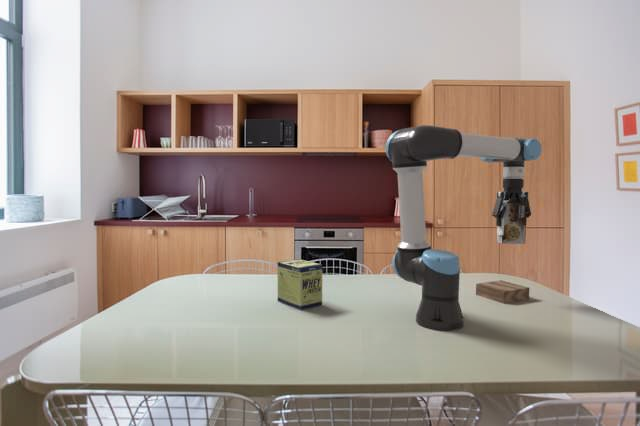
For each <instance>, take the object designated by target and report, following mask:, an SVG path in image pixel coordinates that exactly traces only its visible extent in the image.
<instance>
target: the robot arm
mask: <svg viewBox="0 0 640 426" xmlns="http://www.w3.org/2000/svg"><path fill="white" fill-rule="evenodd" d="M542 147H543V146H542V144H541V142H540V140H538V139H536V138H523V137H505V136H504V137H503V136H493V135H485V134H483V135H482V134H474V133H465V132H461V131H460V130H459V129H457V128H456V129H455V128H449V127H442V126H435V125H430V124H429V125H426V124H425V125H418V126H411V127H406V128H401V129H399V130H396V131H394V132H393V133H392V134H390V135H389V137H388V138H387V140H386V143H385V154H386V157H387V158H388V159H389V161H390V162H392V170H394V171H395V172H396V173H397V185H398V189H397V190H398V202H399V203H398V205H399V221H400V222H399V223H400V224H399V225H400V242H399V243H398V244H397V247H396V249H397V250H396V251H395V254H394V255H393V256H392V268H393V270H394V273H395V275H397V276H398V277H399V278H400V279H403V281H406V282H408V283H413V284H415V285H419V286H421V300H420V303H419V304H418V305H419V306H418V309H417V312H416V313H415V322H416V323H417V324H418V325H419V326H421V327H424V328H427V329H430V330H431V329H432V330H438V331H453V330H459V329H461V328H463V327H464V324H465V319H464V318H465V317H464V316H463V312H462V307H461V304H460V301H459V297H460V295H459V294H460V292H459V291H460V277H461V276H460V273H461V266H460V258H459V257H458V255H456V253H453V252H452V251H447V250H442V249H435V248H434V249H432V243H430V242H429V241H428V240H427V230H426V229H427V227H426V212H425V196H424V195H425V194H424V193H425V192H424V190H425V188H424V175H423V173H424V170H425V169H426V168H427V167H428V165H427V164H428V161H435V160H442V159H443V160H444V159H445V160H446V159H450V160H454V159H456V158H457V157H462V158H463V157H467V158H479V159H480V160H481V161H483V162H485V163H502V165H503V166H502V167H503V169H502V170H503V171H502V177H503V179H502V188H503V191H497V192H496V200H495V203H494V207H493V210H492V214H491V215H492V217H494V218H495V219H496V222H495V224H496V225H495V226H496V235H497V236H498V235H504V218H502V217H503V215H504V213H505V211H506V206H505V207H504V208H502V204H503V203H511V202H524V203H527V205H526V224H527V222H528V221H527V219H528V218H530V217H531V216H532V211H531V207H530V206H531V205H530V201H529V192H528V191H522V189H523V188H524V187H525V186H524V184H525V179H524V177H525V162H529V161H535V160H537V159H539V158H540V156H541V155H542V152H543V151H542Z"/></svg>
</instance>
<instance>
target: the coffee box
mask: <svg viewBox="0 0 640 426" xmlns="http://www.w3.org/2000/svg"><path fill="white" fill-rule="evenodd" d="M526 205H527V203H524V202H511V203H503V204H502V208H504V207H505V206H506V211H505V213H504V215H503V217H502V218H504V235H497V236H496V237H497V239H496V240H497V241H496V242H498V243H500V244H502V245H503V244H505V245H507V244H508V245H509V244H510V245H511V244H512V245H513V244H514V245H515V244H516V245H519V244H521V245H522V244H523V245H526V241H527V239H526V238H527V234H526V230H527V223H526Z"/></svg>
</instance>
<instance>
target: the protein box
mask: <svg viewBox="0 0 640 426" xmlns="http://www.w3.org/2000/svg"><path fill="white" fill-rule="evenodd" d="M277 302H280V303H282V304H285V305H287V306H290V307H292V308H294V309H297V310H299V309H300V310H299V311H302V310H306V309H311V308H315V307H319V305H320V306H323V264H321V263H316V262H312V261H309V260H304V259H301V258H300V259H299V258H298V259H290V260H283V261H277Z"/></svg>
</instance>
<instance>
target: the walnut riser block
mask: <svg viewBox="0 0 640 426" xmlns="http://www.w3.org/2000/svg"><path fill="white" fill-rule="evenodd" d="M475 296H478V297H482V298H484V299H488V300H491V301H494V302H498V303H500V304H508V303H509V304H510V303H514V302H521V301H525V300H530V287H527V286H525V285H520V284H516V283H512V282H509V281H505V280H493V281H487V282H479V283H476V284H475Z"/></svg>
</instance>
